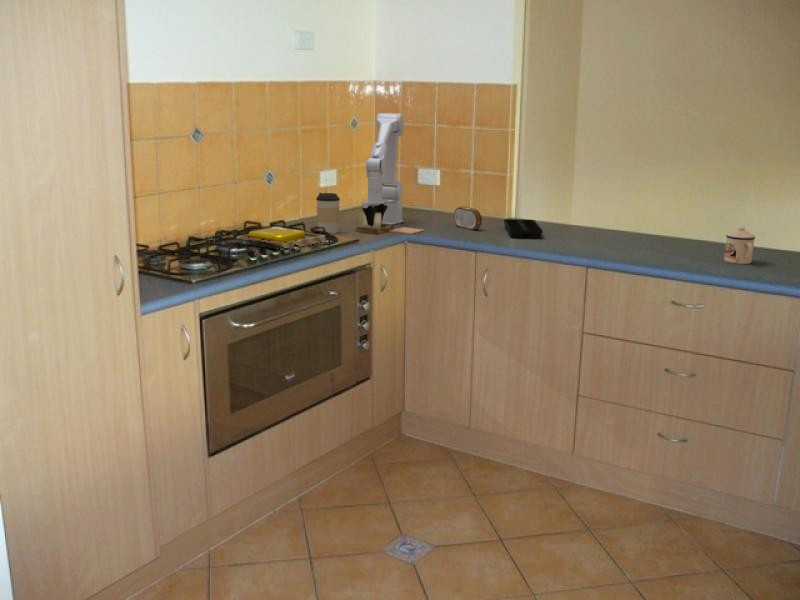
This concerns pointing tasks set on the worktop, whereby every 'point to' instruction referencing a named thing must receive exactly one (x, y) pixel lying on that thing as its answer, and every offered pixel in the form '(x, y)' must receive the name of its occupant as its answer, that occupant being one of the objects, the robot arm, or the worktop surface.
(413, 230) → the plate
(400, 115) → the robot arm
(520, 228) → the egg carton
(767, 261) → the worktop surface
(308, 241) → the corral
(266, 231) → the element tile
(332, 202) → the coffee cup
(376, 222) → the jug
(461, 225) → the brown speaker
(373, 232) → the holder
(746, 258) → the teacup with lid
